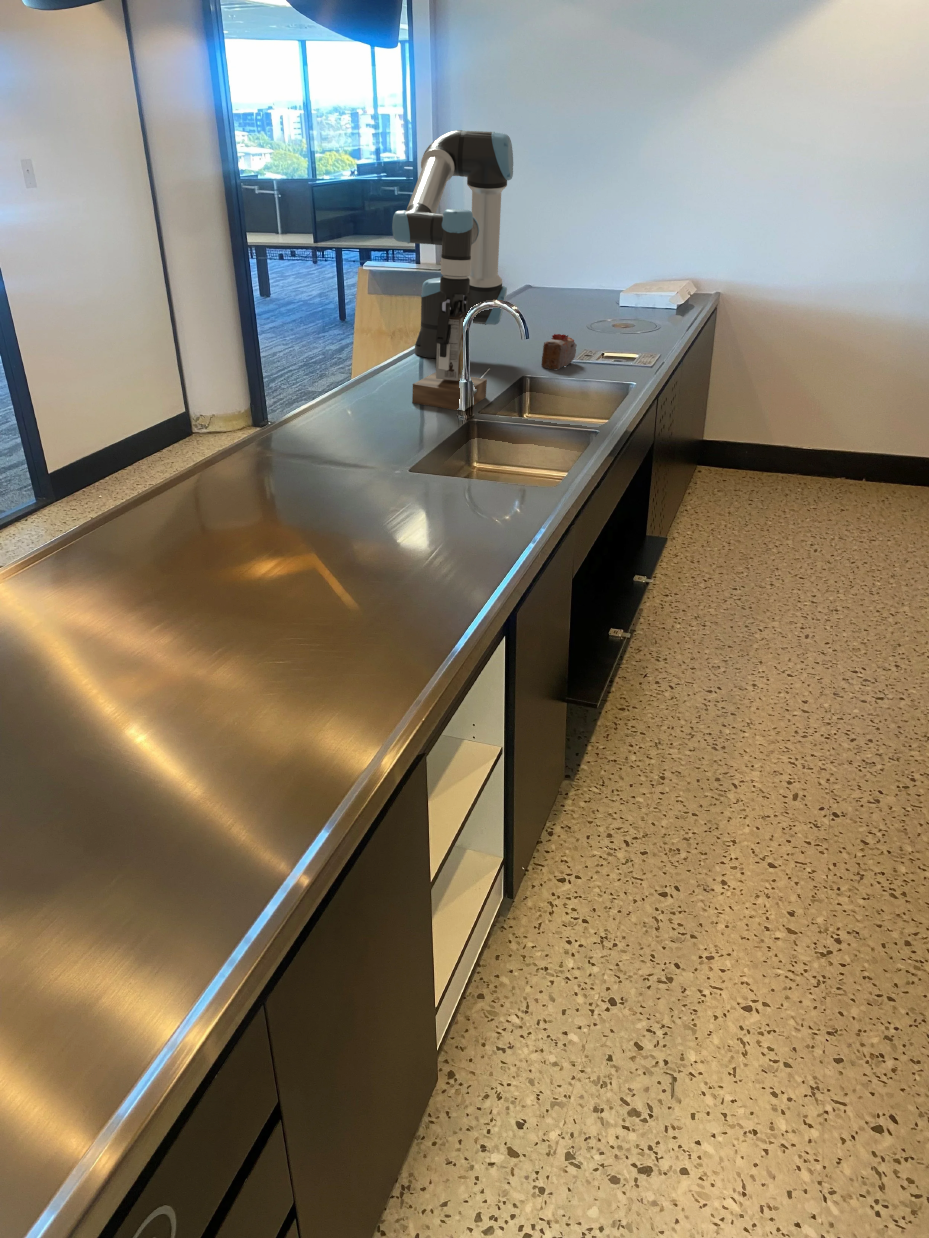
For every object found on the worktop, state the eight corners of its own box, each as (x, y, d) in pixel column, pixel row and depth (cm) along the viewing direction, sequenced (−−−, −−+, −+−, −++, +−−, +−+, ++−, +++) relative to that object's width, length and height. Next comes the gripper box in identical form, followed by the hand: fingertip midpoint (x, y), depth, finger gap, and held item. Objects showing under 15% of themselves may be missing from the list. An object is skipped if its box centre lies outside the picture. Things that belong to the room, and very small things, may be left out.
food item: (553, 359, 290) (556, 328, 285) (576, 363, 287) (579, 332, 282) (538, 368, 279) (541, 335, 274) (562, 371, 276) (566, 339, 271)
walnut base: (436, 389, 249) (436, 371, 247) (485, 397, 245) (486, 379, 242) (412, 402, 236) (412, 384, 234) (464, 411, 232) (465, 392, 229)
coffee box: (442, 370, 242) (445, 309, 234) (465, 373, 241) (469, 311, 233) (435, 378, 234) (437, 315, 226) (458, 381, 233) (461, 318, 225)
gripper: (458, 269, 235) (454, 355, 246) (423, 280, 217) (421, 371, 228) (484, 272, 233) (479, 358, 244) (452, 283, 215) (448, 376, 226)
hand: (451, 365), depth 236 cm, fingers closed on coffee box, 10 cm apart
